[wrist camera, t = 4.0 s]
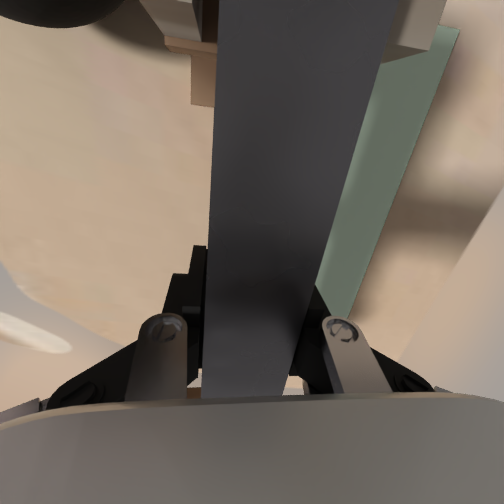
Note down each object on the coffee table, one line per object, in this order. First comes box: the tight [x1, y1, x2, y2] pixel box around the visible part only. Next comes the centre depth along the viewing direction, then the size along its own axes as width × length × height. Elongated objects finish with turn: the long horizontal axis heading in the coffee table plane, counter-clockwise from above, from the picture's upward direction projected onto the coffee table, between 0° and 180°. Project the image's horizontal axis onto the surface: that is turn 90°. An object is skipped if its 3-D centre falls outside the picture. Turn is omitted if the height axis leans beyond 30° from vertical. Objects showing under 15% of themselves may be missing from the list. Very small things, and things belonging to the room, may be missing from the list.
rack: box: [139, 0, 447, 399], centre depth 15 cm, size 24×6×13 cm, turn 173°
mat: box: [315, 25, 460, 319], centre depth 21 cm, size 26×8×1 cm, turn 173°
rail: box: [201, 0, 399, 398], centre depth 10 cm, size 24×3×3 cm, turn 173°
